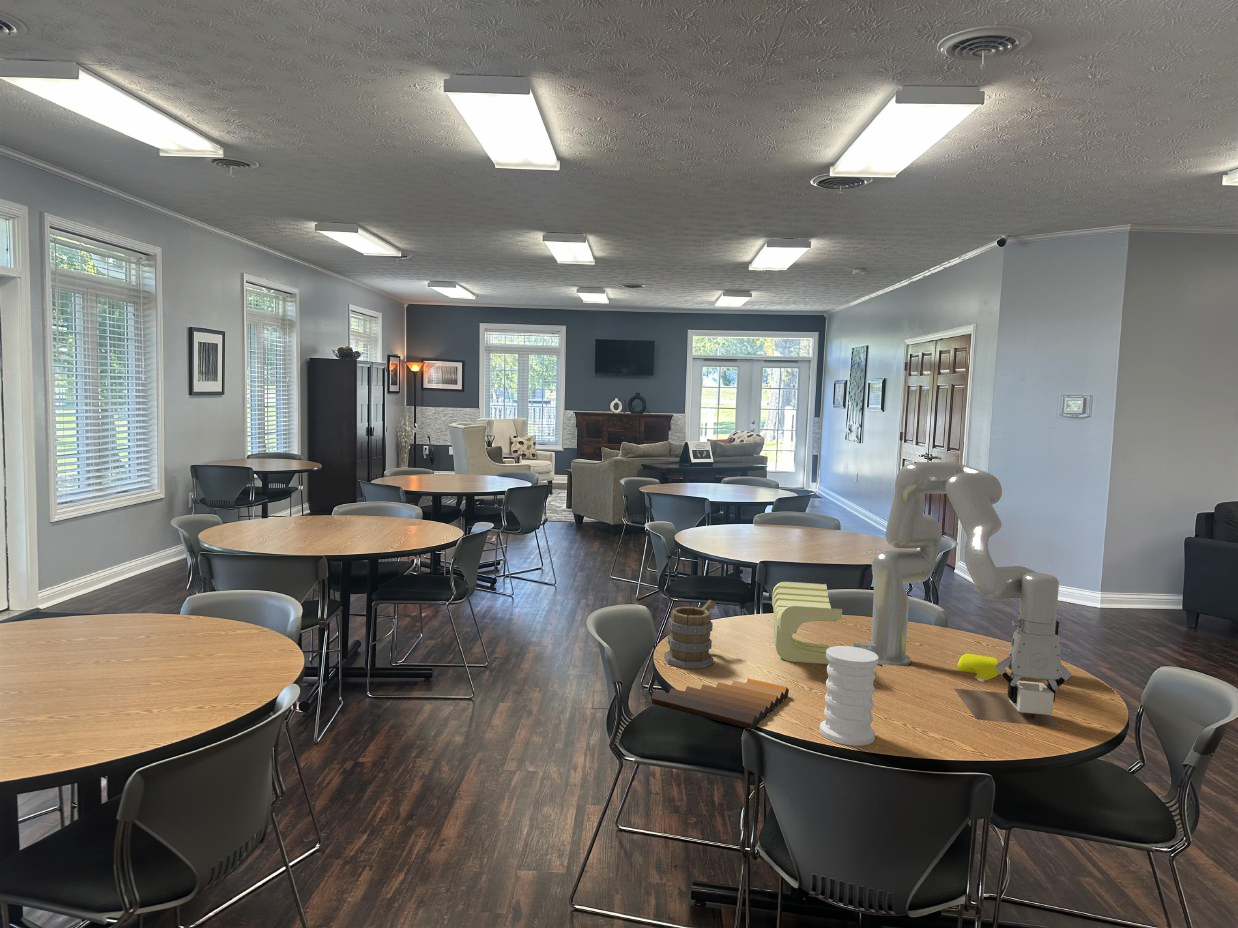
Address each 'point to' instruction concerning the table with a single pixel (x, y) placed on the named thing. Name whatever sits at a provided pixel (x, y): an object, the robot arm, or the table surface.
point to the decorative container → (849, 696)
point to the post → (1029, 715)
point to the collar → (1034, 698)
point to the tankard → (690, 637)
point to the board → (999, 708)
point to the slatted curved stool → (800, 619)
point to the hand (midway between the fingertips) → (1030, 702)
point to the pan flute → (726, 701)
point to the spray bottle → (979, 666)
